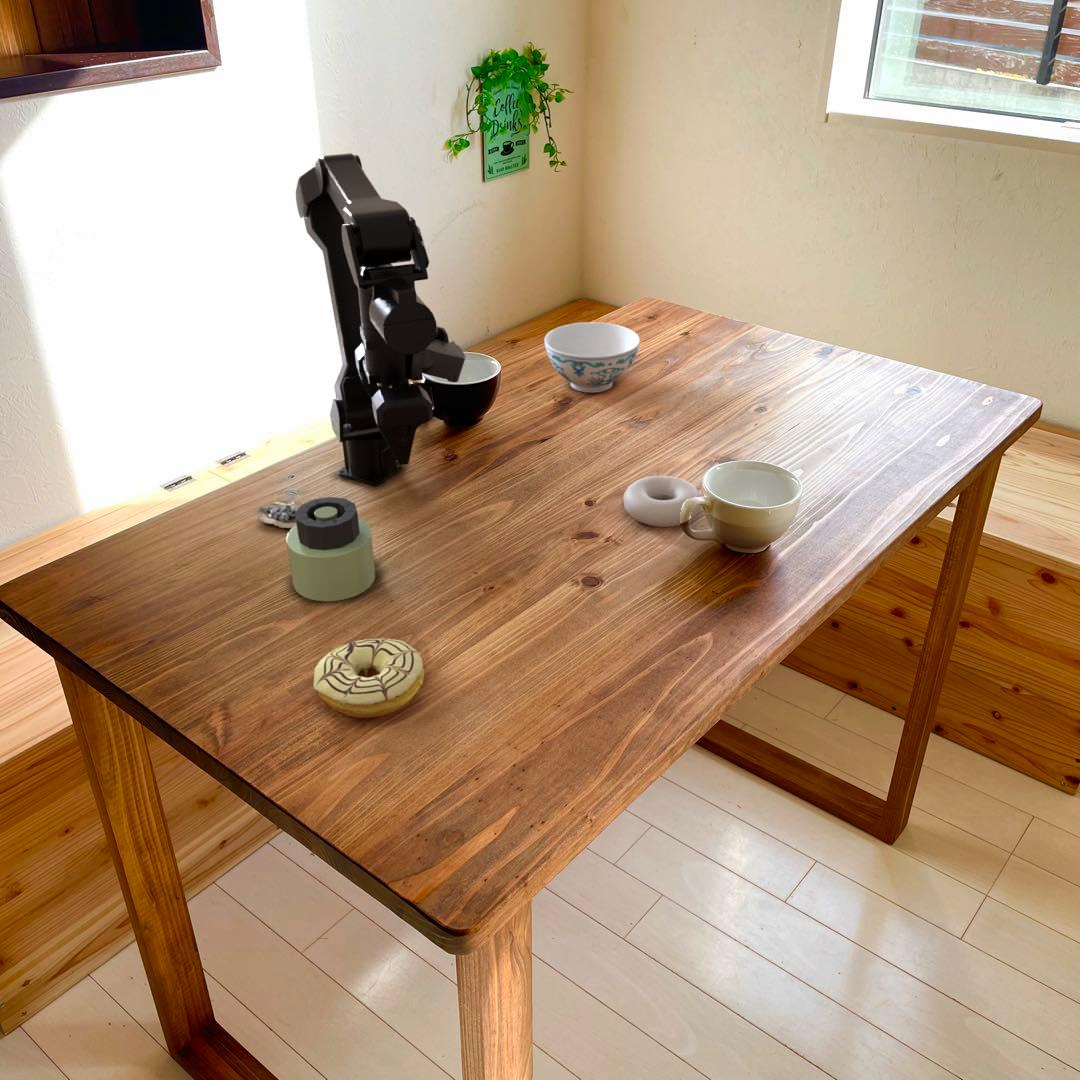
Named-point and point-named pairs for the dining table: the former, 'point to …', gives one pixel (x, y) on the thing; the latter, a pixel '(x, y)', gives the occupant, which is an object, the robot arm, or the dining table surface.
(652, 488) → the donut
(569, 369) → the chinaware
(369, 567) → the green cylinder with peg
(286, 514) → the blueberry tart
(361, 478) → the robot arm
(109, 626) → the dining table surface
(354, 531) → the rubber ring
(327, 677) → the decorated donut
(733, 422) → the dining table surface
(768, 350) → the dining table surface
